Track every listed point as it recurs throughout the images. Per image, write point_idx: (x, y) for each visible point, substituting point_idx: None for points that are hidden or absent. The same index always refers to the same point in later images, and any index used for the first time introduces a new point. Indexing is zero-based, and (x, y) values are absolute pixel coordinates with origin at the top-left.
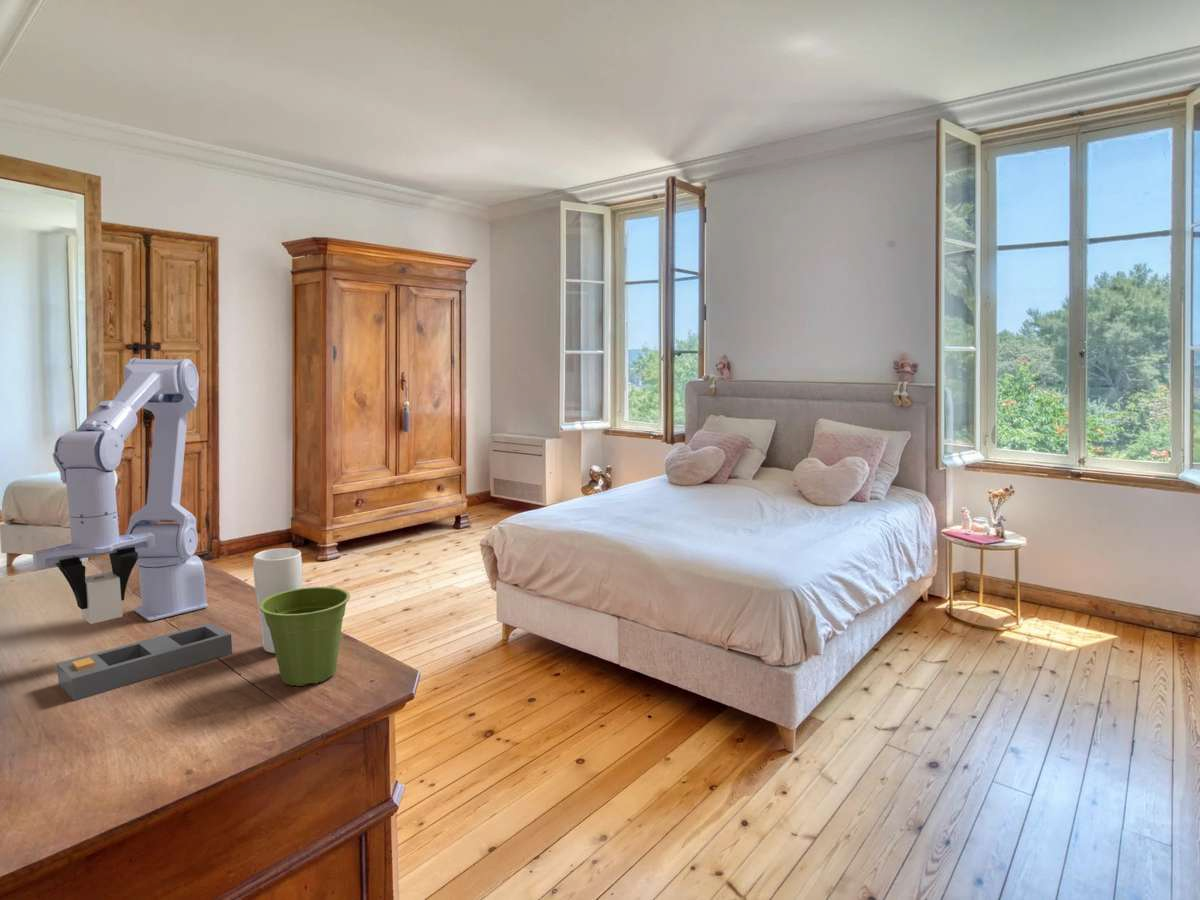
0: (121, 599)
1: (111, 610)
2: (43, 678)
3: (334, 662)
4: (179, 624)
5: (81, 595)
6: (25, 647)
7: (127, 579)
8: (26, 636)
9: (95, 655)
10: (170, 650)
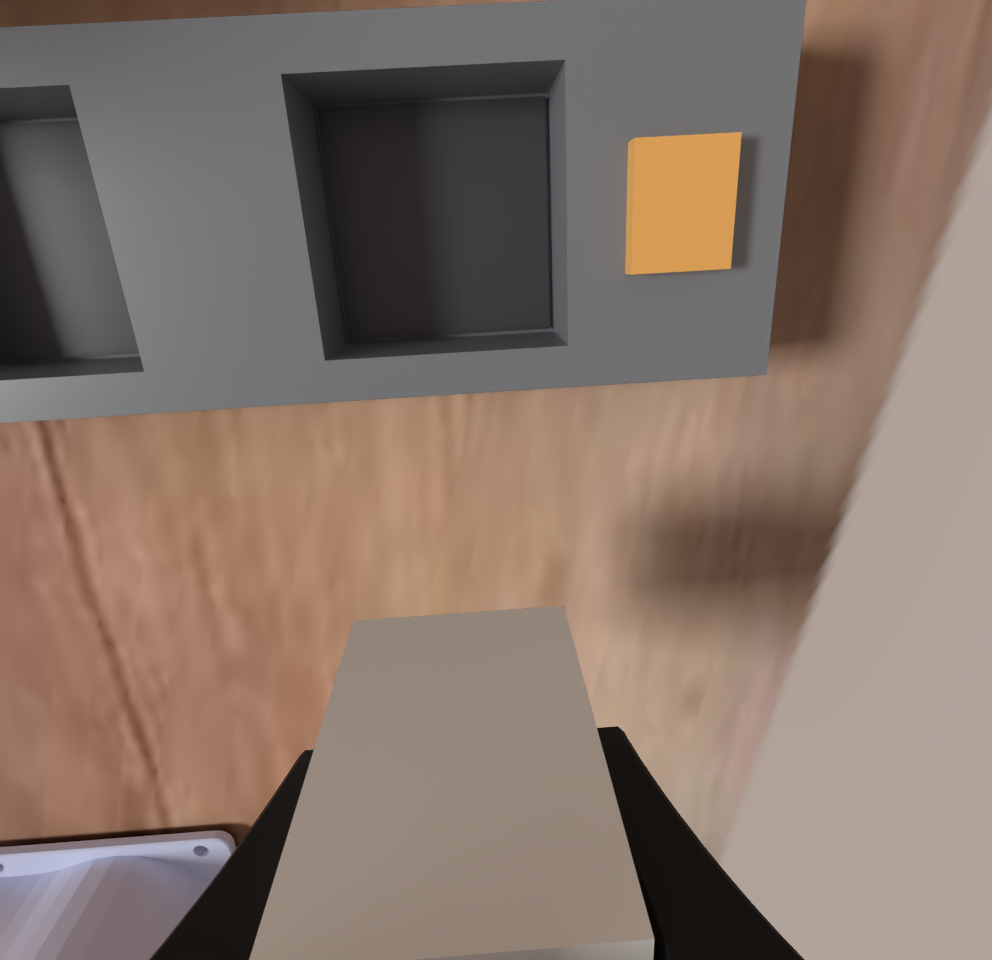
0: None
1: (419, 658)
2: (735, 478)
3: None
4: (110, 731)
5: (666, 824)
6: None
7: (171, 937)
8: None
9: (575, 346)
10: (151, 41)
